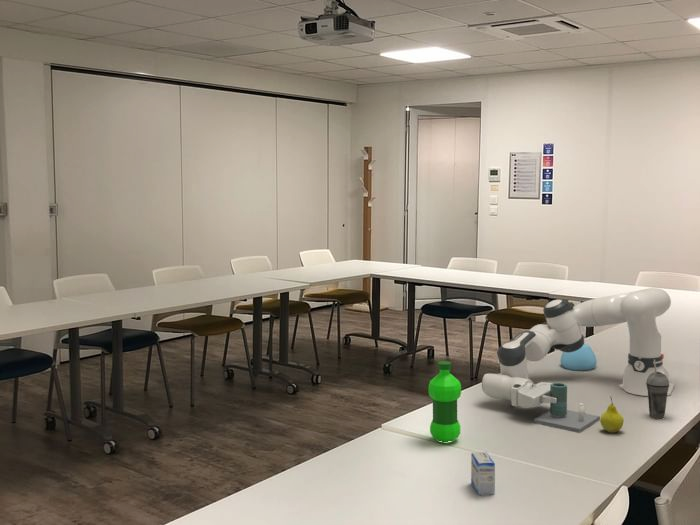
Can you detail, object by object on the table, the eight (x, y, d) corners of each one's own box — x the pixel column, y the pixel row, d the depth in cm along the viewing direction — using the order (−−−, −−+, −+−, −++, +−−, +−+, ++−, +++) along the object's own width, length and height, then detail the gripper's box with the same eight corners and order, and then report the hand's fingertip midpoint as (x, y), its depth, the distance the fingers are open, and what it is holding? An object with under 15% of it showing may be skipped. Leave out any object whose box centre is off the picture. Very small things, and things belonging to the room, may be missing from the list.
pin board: (555, 410, 253) (555, 390, 252) (599, 419, 242) (600, 399, 241) (533, 422, 241) (534, 401, 240) (579, 432, 230) (580, 410, 230)
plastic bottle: (441, 448, 219) (440, 368, 217) (422, 438, 229) (421, 361, 226) (468, 442, 224) (467, 364, 221) (448, 432, 233) (447, 357, 231)
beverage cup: (670, 421, 239) (672, 362, 237) (647, 420, 241) (648, 361, 238) (665, 414, 246) (667, 357, 244) (643, 413, 248) (644, 356, 246)
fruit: (606, 426, 235) (607, 390, 234) (627, 431, 231) (627, 394, 229) (596, 432, 231) (597, 395, 229) (617, 437, 226) (617, 399, 224)
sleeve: (554, 410, 247) (555, 382, 246) (568, 413, 244) (569, 384, 243) (548, 414, 243) (548, 385, 242) (562, 417, 240) (562, 387, 239)
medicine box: (470, 483, 194) (470, 452, 193) (487, 482, 194) (486, 451, 193) (478, 495, 186) (478, 463, 185) (495, 494, 186) (495, 462, 185)
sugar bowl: (558, 370, 307) (558, 343, 306) (562, 361, 321) (562, 336, 320) (595, 372, 302) (595, 345, 301) (597, 364, 316) (598, 338, 314)
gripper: (537, 393, 259) (574, 400, 250) (509, 406, 244) (547, 414, 235) (537, 376, 259) (574, 382, 250) (509, 388, 244) (547, 396, 234)
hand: (561, 398), depth 242 cm, fingers closed on sleeve, 5 cm apart
